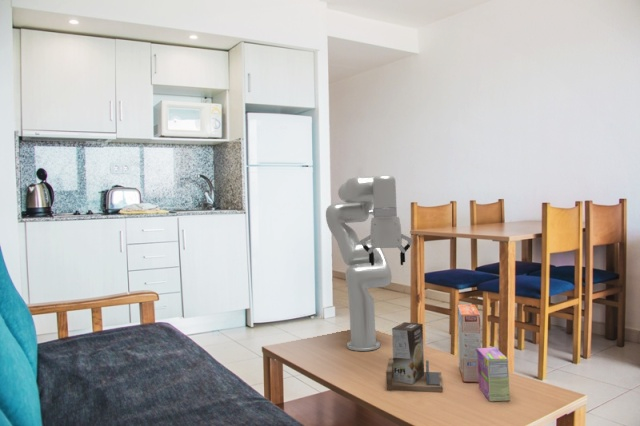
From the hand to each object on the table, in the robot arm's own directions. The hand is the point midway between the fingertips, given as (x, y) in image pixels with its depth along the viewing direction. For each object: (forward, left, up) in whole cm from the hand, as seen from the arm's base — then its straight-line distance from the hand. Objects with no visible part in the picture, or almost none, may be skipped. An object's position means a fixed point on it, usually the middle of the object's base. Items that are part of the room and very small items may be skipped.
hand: (387, 264), depth 167 cm
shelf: (+14, +8, -34) cm, 38 cm away
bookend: (+14, +13, -33) cm, 38 cm away
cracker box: (+5, +25, -34) cm, 43 cm away
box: (+20, +30, -35) cm, 50 cm away
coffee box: (+14, +6, -33) cm, 36 cm away
